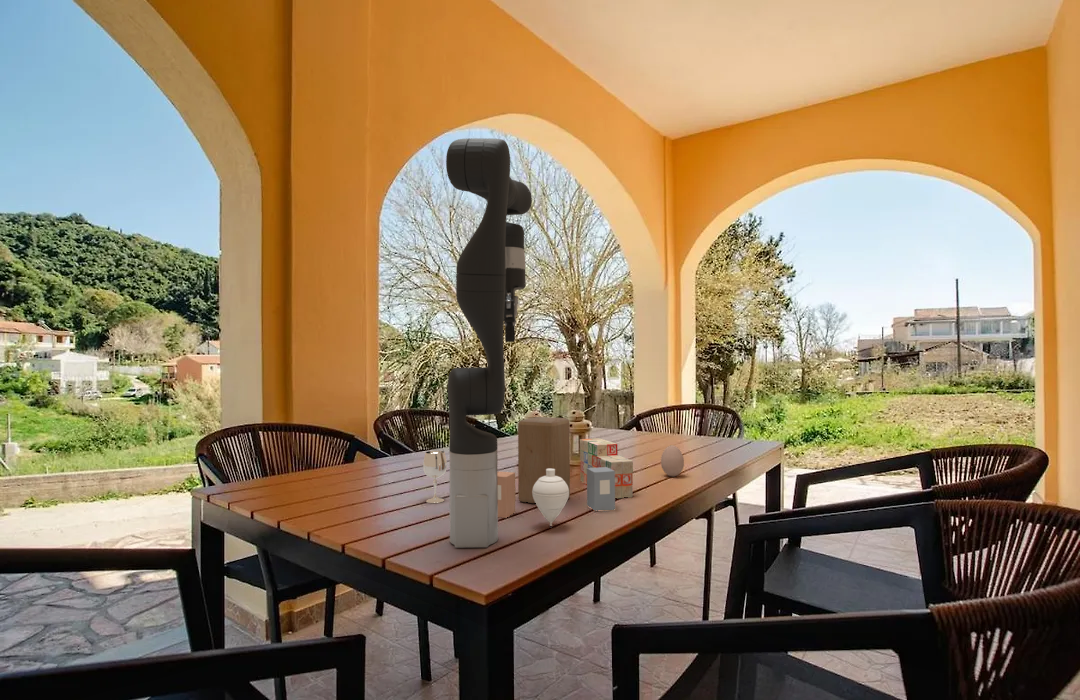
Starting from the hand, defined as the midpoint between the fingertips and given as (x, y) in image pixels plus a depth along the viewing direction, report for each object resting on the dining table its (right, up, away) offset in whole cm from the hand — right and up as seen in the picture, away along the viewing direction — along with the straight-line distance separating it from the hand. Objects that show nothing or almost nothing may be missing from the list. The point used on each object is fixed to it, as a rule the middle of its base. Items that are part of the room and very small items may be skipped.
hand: (510, 341), depth 131 cm
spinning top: (+9, -39, -17) cm, 43 cm away
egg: (+46, -39, +32) cm, 68 cm away
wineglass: (-19, -39, +5) cm, 44 cm away
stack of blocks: (+24, -40, +17) cm, 49 cm away
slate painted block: (+21, -39, -3) cm, 44 cm away
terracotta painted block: (-2, -39, -7) cm, 40 cm away
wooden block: (+8, -39, +5) cm, 40 cm away
